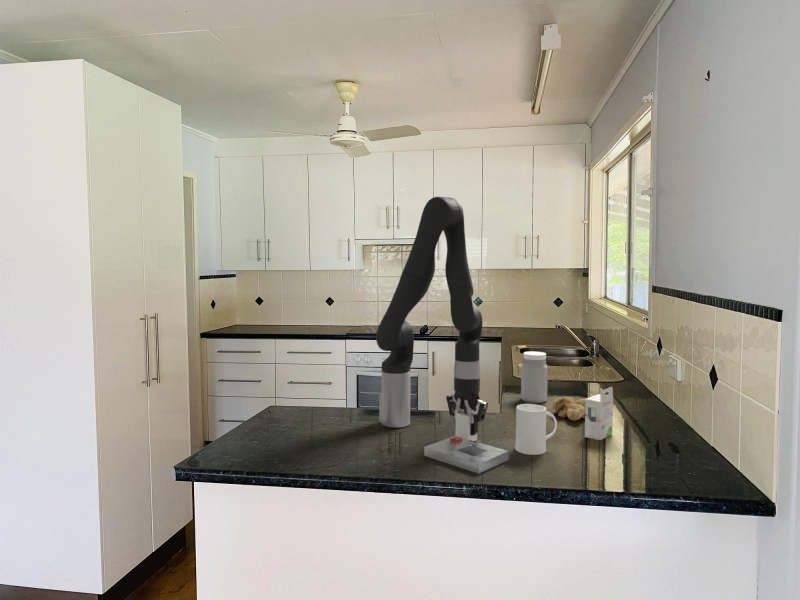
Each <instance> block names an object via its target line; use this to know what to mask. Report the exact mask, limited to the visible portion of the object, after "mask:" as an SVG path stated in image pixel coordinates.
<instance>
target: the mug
mask: <svg viewBox="0 0 800 600" xmlns="http://www.w3.org/2000/svg"><path fill="white" fill-rule="evenodd" d="M515 411H516V412H515V415H516V416H515V445H514V450H515V451H516V452H517V453H520V454H523V455H531V456H538V455H543V454H545V453H546V452H547V448H546V447H547V446H546V445H547V443H546V441H547V440H549V439H550V438H552V437H553V436H554V435H555V433H556V432H557V430H558V429H557V428H558V421H557V418H556V416H554V414H553V413H552V412H550V411H547V407H546V406H543V405H541V404H537V403H523V404H522V403H520V404H518V405H516V408H515ZM547 416H549V417H551V418H552V419H553V420H554V429H553V431H552V432H551V433H549V434H547V433H546V432H547V431H546V430H547ZM546 434H547V435H546Z"/></svg>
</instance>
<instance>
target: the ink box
mask: <svg viewBox="0 0 800 600" xmlns="http://www.w3.org/2000/svg"><path fill="white" fill-rule="evenodd" d="M613 392H614V391H613V386H610V387H608V388H605V389H603V390H600V393H598V394H595V395H593V396H590V397H586V398H587V399H585V418H584V420H585V421H584V438H588V439H591V440H595V441H596V440H597V441H602V440H604V439H606V438H608V437H609V436H612V435H613V416H614V414H613V413H614V411H613V410H614V407H613V406H614V393H613ZM607 393H608V394H607Z"/></svg>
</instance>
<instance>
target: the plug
mask: <svg viewBox="0 0 800 600" xmlns="http://www.w3.org/2000/svg"><path fill="white" fill-rule="evenodd" d="M470 423H471V420H470V415H468V412H467V411H466V410H464V411H463V412H460V413H456V428H455V435H454V436H457V437H460V438H464V439H468V440H471V441H475V442H477V441H478V432H477V433H476V435H474V436H472V435H470Z"/></svg>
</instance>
